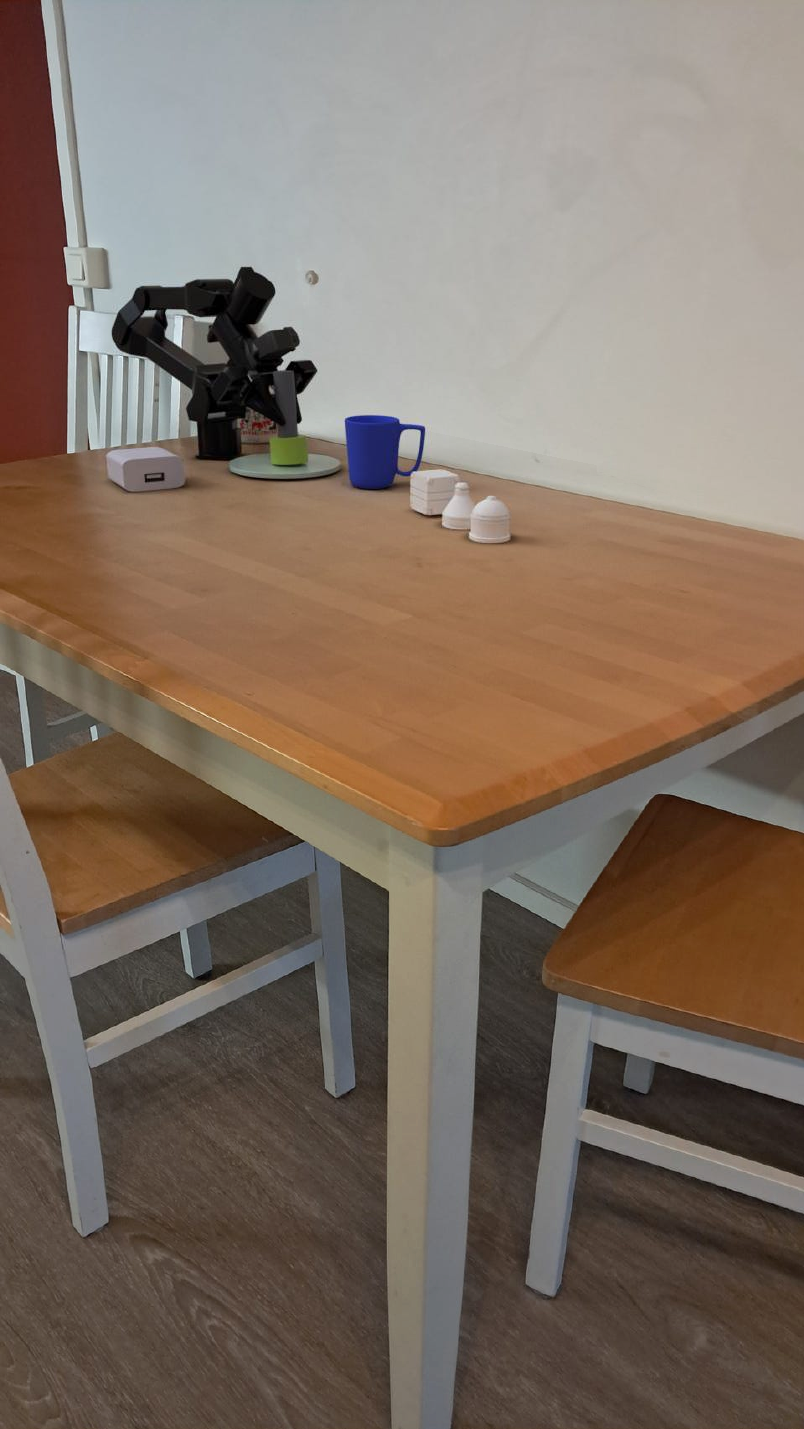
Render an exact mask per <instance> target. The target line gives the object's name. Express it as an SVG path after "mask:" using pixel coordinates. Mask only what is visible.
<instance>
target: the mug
mask: <svg viewBox="0 0 804 1429" xmlns="http://www.w3.org/2000/svg"><path fill="white" fill-rule="evenodd" d="M400 421H401V420H400V419H399V418H398V417H396V416H389V415H380V414H361V415H352V416H348V417H346V418H345V419H344V428H345V429H344V431H345V442H346V454H347V455H346V456H347V466H348V467H347V468H348V477H349V482H350V484H351V485H353V487H355V488H357V489H358V488H359V489H364V490H379V489H385V488H386V489H387V488H389V487H391V486H392V485H393V484H394V482H395V478H396V475H398V476H401V477H411V474H412V472H416V471H419V468H420V466H421V463H422V458H423V454H424V448H425V447H424V446H425V437H426V427H425V426H424V425H420V424H411V423H401V422H400ZM406 430H407V431H408V430H416V431H419V432H420V435H419V446H418V453H417V458H416V461H415V464H414V465H413V467H412V468H411V469H410V470H408V471H402V470H400V469H399V450H400V449H399V448H400V441H401V436H402V433H403V432H404V431H406Z"/></svg>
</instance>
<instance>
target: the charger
mask: <svg viewBox="0 0 804 1429" xmlns="http://www.w3.org/2000/svg"><path fill="white" fill-rule="evenodd" d="M105 458H106V466H107V468H106V469H107V476H108V479H109V480H111V481H112V482H114V483H115V484H117V485H118V486H119V487H121V488H123V489H124V490H126V491H128V492H132V493H136V492H137V493H139V492H149V491H159V490H160V491H161V490H168V489H169V490H171V489H177V488H180V487H182V486H184V485H185V483H186V477H185V464H184V463H185V462H184V459H183V458H182V457H181V456H179V455H176V454H174V453H173V452H170V451H169V450H166V449H164V448H162V447H161V446H147V447H136V448H133V447H132V448H121V449H113V450H110V451H109V452H107V453H106V456H105Z"/></svg>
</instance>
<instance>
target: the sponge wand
mask: <svg viewBox="0 0 804 1429" xmlns="http://www.w3.org/2000/svg"><path fill="white" fill-rule="evenodd" d="M273 376H274V390H275V402H276V403H277V405H278V407H279V409H280V410H281V412H282V414H283V416H284V418H285V420H286V423H285V425H284V426H280V425H278V424H277V430H278V436H273V437H270V438H269V441H270V443H269V453H271V463H272V464H276V465H291V464H301V463H306V462H308V454H309V448H308V436H307V435H306V434H299V430H298V429H299V428H298V424H297V413H296V398H295V384H294V371H280V370H278V371H274V372H273Z"/></svg>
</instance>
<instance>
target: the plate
mask: <svg viewBox="0 0 804 1429" xmlns="http://www.w3.org/2000/svg"><path fill="white" fill-rule="evenodd" d="M228 469H229V471H230V472H231V473H234V474H237V475H240V476H245V477H250V478H256V479H257V478H258V479H271V480H272V479H273V480H274V479H276V480H278V479H279V480H282V479H283V480H289V479H290V480H291V479H292V480H293V479H294V480H295V479H307V478H309V479H310V478H317V477H322V476H328V475H331V474H333V473H336V472H338V471H339V470H340V469H341V462H340V460H339V459H337V458H335V457H332V456H329V455H323V454H315V453H308V462H306V463H301V464H291V465H276V464H272V463H271V453H270V452H267V453H266V452H265V453H257V454H250V455H248V454H247V455H244V456H240V457H239V456H238V457H235V458H233V459H230V461H229V462H228Z"/></svg>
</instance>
